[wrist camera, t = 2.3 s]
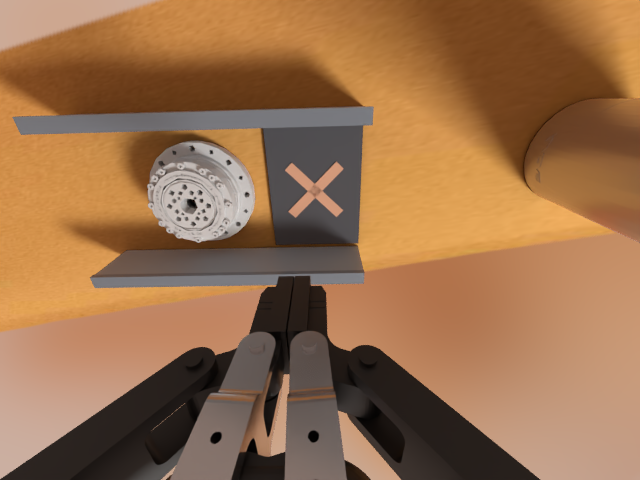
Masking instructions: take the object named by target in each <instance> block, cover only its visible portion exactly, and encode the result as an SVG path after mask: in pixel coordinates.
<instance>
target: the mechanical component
mask: <svg viewBox="0 0 640 480" xmlns="http://www.w3.org/2000/svg"><path fill="white" fill-rule="evenodd" d="M194 148H195V149H194ZM229 160H230V161H231V163H230V162H229ZM242 176H243V177H242ZM147 187H148V199H149V202H150V203H149V204H148V207H149V208H150V209H152V211H153V214H154V215H155V216H156V218H157V219H158V220H159V222H158V223H159V225H160V226H162V227H163V226H164V227H165V228H166V231H167V232H168V233H173V234H175V235H176V237H177V238H179V239H180V238H183V239H187V240H192V241H196V242H197V243H199V242H201V241H207V240H209V241H213V240H222V239H225V238H228V237H231V236H232V235H234V234H236V233H238V232H239V231H240V230H241V229H242V228H243V227H244V226H245V225H246V223H247V222H248V220H249V218H250V216H251V214H252V212H253V209H254V204H255V191H254V185H253V182H252V179H251V177H250V174H249V173H248V171H247V169H246V168H245V166H244V165H243V164H242V162H241V161H240V160H239V159H238V158H237V157H236V156H234V155H233V154H232V153H230V152H229V151H228V150H226V149H225V148H223V147H220V146H218V145H216V144H213V143H210V142H205V141H186V142H182V143H179V144H177V145H174V146H172V147H169V148H167V149H166V150H165V151H164V152H163V153H162V154H161V155H159V156H158V157H157V158H156V160H155V162H154V165H153V167H152V169H151V171H150V182H149V184H148V186H147ZM247 192H248V193H249V194H247ZM192 199H193V200H195V202H193V201H192Z"/></svg>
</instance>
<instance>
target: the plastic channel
mask: <svg viewBox="0 0 640 480" xmlns="http://www.w3.org/2000/svg"><path fill="white" fill-rule="evenodd" d="M13 119H14V121H15V123H16V125H17V128H18V130H19V132H20V134H21V135H26V134H63V133H100V132H137V131H174V130H211V129H248V128H285V127H322V126H359V125H373V107H365V106H348V107H313V108H277V109H242V110H207V111H172V112H136V113H101V114H70V115H56V116H22V117H13ZM279 276H294V277H295V276H310V277H311V284H363V283H364V270H363V266H362V262H361V258H360V254H359V249H358V246H328V247H275V248H222V249H168V250H126V251H125V252H124V253H122V254H121V255H120V256H118V257H117V258H116V259H115V260H113V261H112V262H111V263H110V264H108V265H107V266H106V267H104V268H103V269H102V270H101V271H99V272H98V273H97V274H95V275H93V276H91V277H90V279H91V281H92V283H93V285H94V287H95V288H119V287H180V286H242V285H277V281H278V277H279Z"/></svg>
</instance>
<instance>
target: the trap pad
mask: <svg viewBox="0 0 640 480" xmlns="http://www.w3.org/2000/svg"><path fill="white" fill-rule="evenodd" d="M263 132H264V141H265V150H266V159H267V168H268V177H269V186H270V195H271V204H272V214H273V223H274V232H275V241H276V245H290V244H343V243H358V235H359V210H360V186H361V161H362V137H363V125H359V126H322V127H285V128H263Z"/></svg>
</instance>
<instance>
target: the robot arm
mask: <svg viewBox="0 0 640 480" xmlns="http://www.w3.org/2000/svg"><path fill="white" fill-rule="evenodd" d="M524 175H525V179H526V182H527V184H528V186H529V187H530V189H531V190H532V191H533V192H534V193H535V194H537V195H538V196H540V197H542V198H544V199H547V200H549V201H551V202H553V203H555V204H557V205H559V206H562V207H564V208H566V209H568V210H570V211H572V212H574V213H576V214H578V215H580V216H583V217H585V218H587V219H589V220H591V221H593V222H596V223H598V224H600V225H602V226H604V227H607V228H609V229H611V230H613V231H615V232H617V233H620V234H622V235H624V236H626V237H628V238H631V239H633V240H635V241H637V242H639V243H640V98H600V99H588V100H584V101H579V102H577V103H575V104H573V105H570V106H568V107H566V108H565V109H563V110H561V111H560V112H558V113H557V114H555V115H554V116H553V117H552V118H551V119H550V120H549V121H547V122H546V123H545V124H544V126H543V127H542V128H541V129H540V130H539V131H538V133H537V134H536V136H535V137H534V139H533V141H532V142H531V144H530V146H529V149H528V151H527V154H526V158H525V163H524ZM284 374H290V379H289V394H288V397H287V421H286V452H284V453H280V454H277V455H274V456H271V444H272V438H273V433H274V429H275V423H276V419H277V414H278V409H279V405H280V400H281V395H282V383H283V375H284ZM184 403H185V404H184ZM183 404H184V405H183ZM182 405H183V406H182ZM179 407H180V408H179ZM178 408H179V409H178ZM177 409H178V410H177ZM176 410H177V411H176ZM338 411H341V412H344V413H347V415H348V417H349V419H350V420H351V421H352V423H353V424H354V425H355V426H356V427H357V429H358V430H359V431H360V432H361V433H362V434H363V436H364V437H365V438H366V439H367V440H368V441H369V442H370V444H371V445H372V446H373V447H374V448H375V449H376V451H377V452H378V453H379V454H380V455H381V456H382V458H383V459H384V460H385V461H386V462H387V463H388V464H389V466H390V467H391V468H392V469H393V470H394V471H395V472H396V474H397V475H398V476H399V477H400V478H401V480H540V479H539V478H537V477H536V476H535V475H534V474H533V473H531V472H530V471H529V470H528V469H526V468H525V467H524V466H523V465H522V464H520V463H519V462H518V461H517V460H515V459H514V458H513V457H512V456H510V455H509V454H508V453H507V452H506V451H504V450H503V449H502V448H501V447H499V446H498V445H497V444H496V443H494V442H493V441H492V440H491V439H489V438H488V437H487V436H486V435H484V434H483V433H482V432H481V431H480V430H478V429H477V428H476V427H475V426H474V425H472V424H471V423H469V421H467V420H466V419H465V418H463V417H462V416H461V415H460V414H459V413H458V412H456V411H455V410H454V409H453V408H451V407H450V406H449V405H448V404H446V403H445V402H444V401H443V400H441V399H440V398H439V397H438V396H437V395H435V394H434V393H433V392H431V391H430V390H429V389H428V388H427V387H425V386H424V385H423V384H422V383H421V382H419V381H418V380H417V379H416V378H414V377H413V376H412V375H410V374H409V373H408V372H407V371H406V370H405V369H403V368H402V367H401V366H400V365H398V364H397V363H396V362H395V361H393V360H392V359H391V358H390V357H389V356H387V355H386V354H385V353H383V352H382V351H381V350H380V349H378V348H376V347H373V346H370V345H361V346H358V347H356V348H354V349H353V350H352V351H347V350H343V349H340V348H338V347H336V346H334V345H333V344H332V343H331V341H330V340H329V338H328V336H327V310H326V292H325V291H324V289H323V288H322V286H311V277H310V276H295V277H294V276H279V277H278V281H277V286H276V287H267V288H266V289H265V290H264V292H263V293H262V294H261V297H260V300H259V304H258V306H257V310H256V313H255V317H254V320H253V323H252V327H251V330H250V333H249V335H247V336H246V337H244V338H243V339H242V341H241V342H240V343H239V345H238V348H236V349H234V350H232V351H229V352H225V353H222V354H218V355H215V354H214V352H213V351H212V350H211V349H209V348H205V347H199V348H194V349H191V350H189V351H187V352H186V353H184V354H182V355H181V356H179V357H178V358H177V359H175V360H174V361H172V362H171V363H169V364H168V365H166V366H165V367H164V368H162V369H161V370H159V371H158V372H156V373H155V374H153V375H152V376H150V377H149V378H147V379H146V380H145V381H143V382H142V383H140V384H139V385H137V386H136V387H134V388H133V389H131V390H130V391H128V392H127V393H126V394H124V395H123V396H121V397H120V398H118V399H117V400H115V401H114V402H112V403H111V404H109V405H108V406H107V407H105V408H104V409H102V410H101V411H99V412H98V413H96V414H95V415H93V416H92V417H91V418H89V419H88V420H86V421H85V422H83V423H82V424H80V425H79V426H77V427H76V428H74V429H73V430H72V431H70V432H69V433H67V434H66V435H64V436H63V437H61V438H60V439H58V440H57V441H56V442H54V443H53V444H51V445H50V446H48V447H47V448H45V449H44V450H42V451H41V452H40V453H38V454H37V455H35V456H34V457H32V458H31V459H29V460H28V461H26V462H25V463H23V464H22V465H20V466H19V467H18V468H16V469H15V470H13V471H12V472H10V473H9V474H8V475H6V476H5V477H3V478H2V479H0V480H161V479H162V478H163V477H164V476H165V475H166V474H167V473H168V472H169V471H170V470H171V469H173V468H174V466H176V468H175V470H174V472H173V474H172V475H171V476H170V477H169V478H167V479H166V480H370V478H369V477H368V476H367V475H366V474H365V473H364V472H362V471H361V470H360V469H359V468H358V467H356V466H355V465H353V464H352V463H350V462H348V461H346V460H344V454H343V448H342V439H341V431H340V424H339V416H338ZM173 412H174V413H173ZM172 413H173V414H172ZM171 414H172V415H171ZM168 416H169V417H168ZM167 417H168V418H167ZM166 418H167V419H166ZM165 419H166V420H165ZM163 420H164V421H163ZM162 421H163V422H162ZM161 422H162V423H161ZM160 423H161V424H160ZM157 425H158V426H157ZM156 426H157V427H156ZM155 427H156V428H155ZM154 428H155V429H154Z"/></svg>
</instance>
